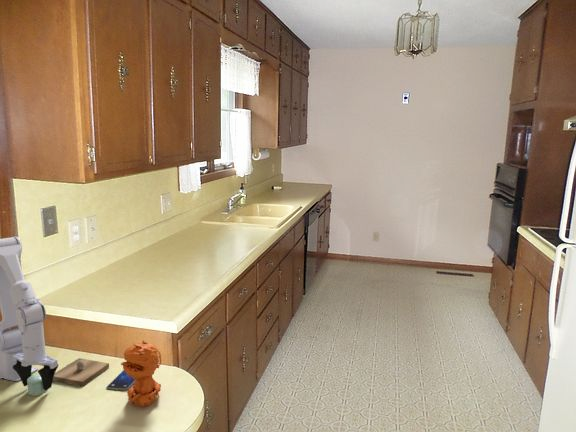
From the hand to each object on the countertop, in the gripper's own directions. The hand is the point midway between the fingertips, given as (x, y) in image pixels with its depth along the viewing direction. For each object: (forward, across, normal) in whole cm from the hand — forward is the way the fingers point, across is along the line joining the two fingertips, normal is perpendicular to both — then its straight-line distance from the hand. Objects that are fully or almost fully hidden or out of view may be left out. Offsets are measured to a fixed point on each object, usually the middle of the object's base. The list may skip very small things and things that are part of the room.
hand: (37, 386), depth 132 cm
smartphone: (+2, +21, +14) cm, 26 cm away
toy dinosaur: (+2, +33, +5) cm, 33 cm away
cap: (+1, 0, 0) cm, 1 cm away
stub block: (+1, +5, +12) cm, 13 cm away
